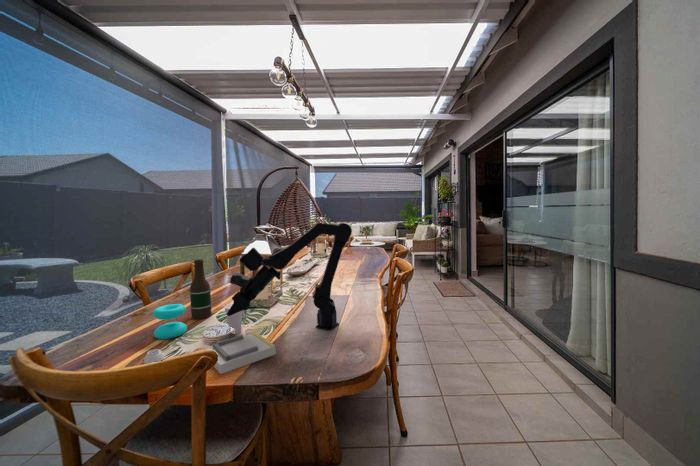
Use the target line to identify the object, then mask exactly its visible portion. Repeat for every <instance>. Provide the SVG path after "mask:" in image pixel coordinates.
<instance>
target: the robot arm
mask: <svg viewBox="0 0 700 466" xmlns="http://www.w3.org/2000/svg"><path fill="white" fill-rule="evenodd" d="M352 232H353V231H352V227H351V225H350V224H348V223H346V222H340V223H339V222H338V223H337V224H330V223H329V224H328V223H323V222H317V223H315V225H314V226H313V227H311V229H309V230H308V231H307V232H305V233H304V234H303V235H301V236H300V237H299V238H298V239H296V240H295V241H294V242H293V243H291V244H290V245H288V246H285V247H284V248H282V249H281V250H278V251H277V252H275V253H274V254H273V255H269V256H268V255H267V256H264V255H262V253H260V252H259V251H258V250H257V249H256V248H255V247H252V248H251V249H250V250H249V251H248V252H247V253H245V254H244V255H243V256H242V257H241V258H240V259H239V260H238V262H240V263H241V264H242V265H243V266H244V267H245V268H247V269H248V270H249V271H250V272H256V273H255V274H254V275H252V276H251V277H249V276H247V275H244V274H242V273H240V272H237V271H236V272H234V273H232V275H231V277H230V280H229V284H231V285H236V286H238V287H241V288H240V289H239V291H237V292H236V293H234V294H235V295H234V294H233V296H232V297H231V299H232V301H233V303H232V304H233V305H232V306H231V308H230V310H229V311H228V313H227V315H228V316H231V315H233V314H235V313H237V312H240V311H242V310H243V311H247V310H248V309H249V308H250V307H251V306H252V304H253V300H255V299H256V298H257V296H259V294H260V293H261V292H262V291H264V290H265V289H266V287H267V286H268V285H269V284H270V283H271V281H273V280H274V278H275V279H277V280H281V278H282V274H281V273H282V271H281V270H283V269H284V268H286V266H287V265H288V264H289V263H290V262H291V261H292V259H294V257H295V256H296V255H297V254H298V253H299V252H300V251H302V250H303V249H305V247H307V246H308V245H309V244H311V243H312V242H313V241H314V240H315V239H317V238H318V237H319V236H320V235H327V236H329V235H330V236H333V237H332V238H333V240H332V247H331V250H330V253H329V257H328V259H327V263H326V266H325V268H324V272H323V276H322V279H321V280H320V282H319V284H318V283H315V284H314V285H315V286H314V289H313V292H312V299H313V304H314V306H315V307H316V308H317V313H316V317H317V318H316V322H317V323H316V325H315V328H317V329H323V330H327V331H331V330H333V329H334V328H336V327H337V326H339V324H340V323H339V322H337V321H338V320H337V317H338V316H337V309H336V308H337V307H336V305H335V304H336V303H335V300H334V299H332V298H331V293H332V285H333V281H334V279H335V278H334V277H335V275H336V271H337V268H338V265H339V262H340V259H341V255H342V252H343V249H344V247H345V246H346V245H347V243H348V242H349V240H350V238H351V235H352ZM260 267H261V268H260ZM259 268H260V269H259ZM258 269H259V270H258ZM257 270H258V271H257ZM227 315H226V316H227Z"/></svg>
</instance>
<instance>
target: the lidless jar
mask: <svg viewBox="0 0 700 466" xmlns="http://www.w3.org/2000/svg"><path fill="white" fill-rule="evenodd" d="M164 359H165V355H164V353H163V352H162V351H161V350H160V349H158V348H154V349H151V350H148V351H147V354H146V355H145V358H144V360H143V364H144V365H147V364H146V363H150V362H156V361H160V362H162V361H163V360H164ZM161 360H162V361H161Z"/></svg>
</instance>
